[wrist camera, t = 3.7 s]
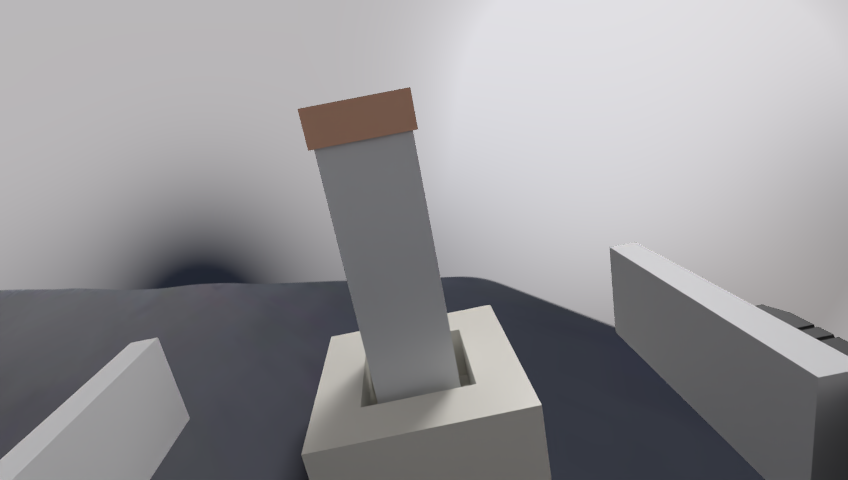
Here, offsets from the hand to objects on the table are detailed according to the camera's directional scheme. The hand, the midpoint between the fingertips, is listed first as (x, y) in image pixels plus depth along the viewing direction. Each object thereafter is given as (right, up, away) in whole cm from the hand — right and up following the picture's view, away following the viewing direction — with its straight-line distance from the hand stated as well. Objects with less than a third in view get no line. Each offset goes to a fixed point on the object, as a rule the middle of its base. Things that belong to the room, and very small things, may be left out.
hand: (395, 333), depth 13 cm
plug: (+1, -7, +11) cm, 13 cm away
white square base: (+1, -7, +11) cm, 14 cm away
